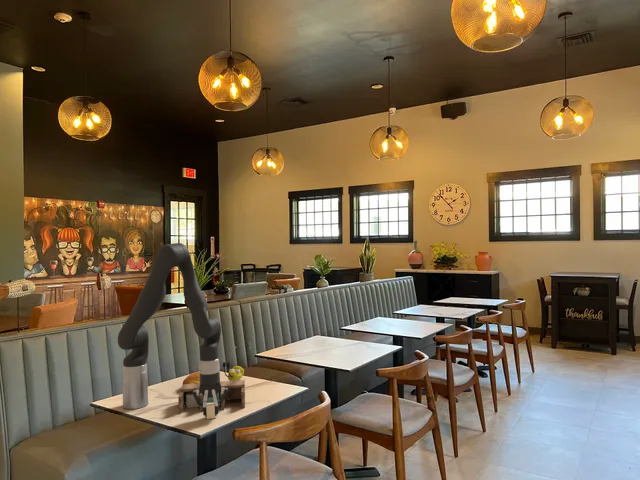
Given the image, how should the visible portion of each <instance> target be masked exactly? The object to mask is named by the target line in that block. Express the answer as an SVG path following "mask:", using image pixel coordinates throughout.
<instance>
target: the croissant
mask: <svg viewBox="0 0 640 480" xmlns="http://www.w3.org/2000/svg"><path fill="white" fill-rule="evenodd" d="M196 383H200V371H195V372H192V373H191V374H190V373H189V375H187V377H185V379H183V381H182V385H183V384H196Z"/></svg>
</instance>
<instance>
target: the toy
mask: <svg viewBox="0 0 640 480" xmlns="http://www.w3.org/2000/svg"><path fill="white" fill-rule="evenodd" d="M230 366H231V364H230V362H229V361H227V363H226V361H223V362H222V367H223V372H224V375H225V377H227V379H228V381H236V380H242V378H243V376H244V373H245V369H244V368H243V367H242V366H239V365H236V366H233V367H232V368H230ZM225 368H227V373H228V374H227V373H226V369H225Z"/></svg>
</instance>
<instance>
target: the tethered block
mask: <svg viewBox="0 0 640 480" xmlns="http://www.w3.org/2000/svg"><path fill="white" fill-rule="evenodd" d="M217 397H218V401H219V400H220V391H219V393H218V394H217ZM206 410H207V417H206V420H209V419H211V420H212V419H215V418H216V416H215V403H214V399H213V398H211V397H210V398H207V405H206Z"/></svg>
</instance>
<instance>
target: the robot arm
mask: <svg viewBox="0 0 640 480" xmlns="http://www.w3.org/2000/svg"><path fill="white" fill-rule="evenodd" d="M176 267H177V268H178V270H179V272H180V274H181V276H182V280H183V286H182V287H183V298H184V301H185V303H186V305H187V309H189V312H190V316H191V320H192V326H193V330H194V331H195V334H196V335H197V336H198V338H200V339H203V343H202V344H201V345H200V346H199V372H200V387H199V389H197V390H194V391H193V393H192V394H193V396H194V398H195V400H196V402H197V404H198V407H200V406H202V407H203V412H202V414H203V416H204V417H205V418H207V410H206V405H207V398H210V397H211V398H213V399H214V403H215V417H217V416H218V414H219V413H220V412H219V410H220V409H219V407H220V406H221V404H223V401H224V399H225V397H226V394H227V392H228V388H224V387H222V386H221V384H220V382H221V372H220V371H221V370H220V369H221V368H220V366H221V365H220V360H219V359H220V356H219V346H220V345H219V344H220V340H221V333H222V326H221V323H220V321H219V320H218V319H217V318H216V317H209V318H208V315H207V312H208V310H209V304H208V302H207V299H206V298H205V295H204V294H203V292H202V289H201V286H200V284H199V280H198V277H197V274H196V271H195V268H194V263H193V260H192V256H191V253H190V251H189V249H188V247H187V246H186V245H185V244H184V243H181V242H175V243H168V244H164V245H162V246H161V247H160V248H159V250H158V251H157V253H156V256H155V259H154V262H153V265H152V267H151V271H150V273H149V275H148V277H147V279H146V282H145V284H144V285H143V288H142V289H141V292H140V293H139V294H138V295H139V296H138V298H137V301H136V302H135V304H134V307H133V308H132V310H131V312H130V314H129V316H128V318H127V319H126V321H125V322H124V324H123V325H122V327H121V328H120V330H119V332H118V334H117V344H118V347H119V348H120V349H122V350H124V351H127V350H128V351H129V350H131V351H130V352H129V353H128V355H126V356H125V357H124V358H123V360H122V368H123V384H122V387H121V389H122V408H123V409H127V410H135V409H140V408H144V407H146V406H148V404H149V387H148V357H149V345H150V341H149V339H150V338H149V337H150V335H149V332H148V331H149V330H148V329H147V327H146V326H145V325H144V324H145V323H146V322H147V321H148V320H150V318H152V317H153V316H154V315H155V314H156V313H157V312H158V310H160V308H161V306H162V304H163V302H164V300H165V297H166V295H167V288H166V287H167V286H166V280H167V278H168V276H169V274H170V272H171V270H172V269H173V268H176ZM220 390H222V397H221V399H220V400H219V401H218V397H217V394H218V393H219V391H220ZM199 392H201V394H202V395H203V396H204V401H203V402H202V401H201V399H200V398H199V396H198V395H199Z"/></svg>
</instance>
